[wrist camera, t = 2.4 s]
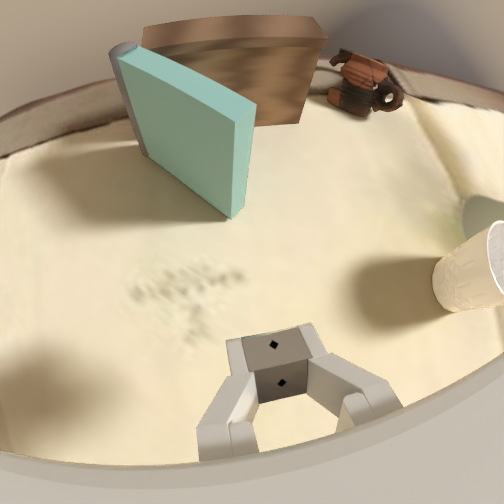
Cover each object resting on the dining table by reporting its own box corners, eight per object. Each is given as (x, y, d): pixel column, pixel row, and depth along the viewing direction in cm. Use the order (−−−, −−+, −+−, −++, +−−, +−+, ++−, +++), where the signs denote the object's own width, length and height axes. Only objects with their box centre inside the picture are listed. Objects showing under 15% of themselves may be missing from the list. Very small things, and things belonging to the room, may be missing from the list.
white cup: (416, 286, 30) (477, 259, 20) (444, 239, 32) (498, 205, 22) (456, 331, 28) (519, 318, 19) (480, 282, 30) (536, 259, 21)
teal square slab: (137, 150, 31) (103, 53, 18) (153, 137, 32) (126, 39, 19) (229, 221, 30) (232, 123, 16) (245, 204, 30) (258, 103, 17)
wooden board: (162, 141, 33) (140, 50, 20) (161, 113, 34) (143, 27, 21) (301, 125, 35) (328, 39, 22) (291, 99, 36) (312, 16, 24)
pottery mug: (305, 94, 37) (322, 40, 32) (336, 96, 43) (352, 52, 38) (382, 132, 33) (405, 73, 27) (402, 130, 39) (421, 82, 33)
